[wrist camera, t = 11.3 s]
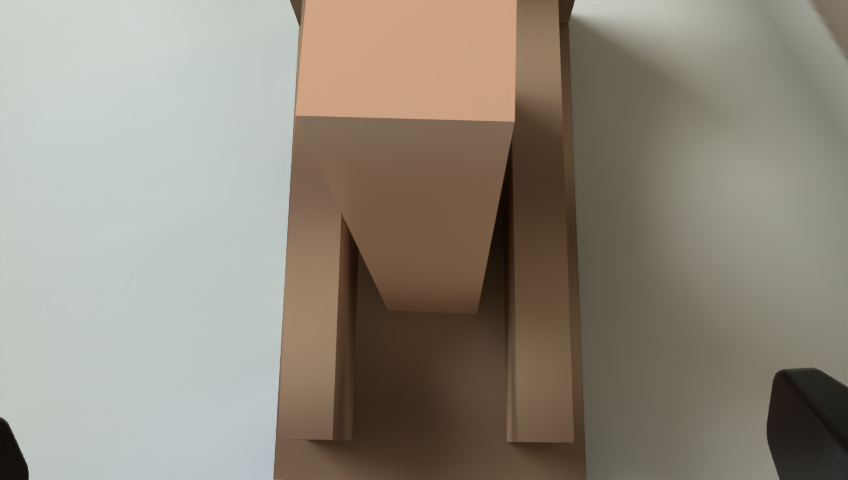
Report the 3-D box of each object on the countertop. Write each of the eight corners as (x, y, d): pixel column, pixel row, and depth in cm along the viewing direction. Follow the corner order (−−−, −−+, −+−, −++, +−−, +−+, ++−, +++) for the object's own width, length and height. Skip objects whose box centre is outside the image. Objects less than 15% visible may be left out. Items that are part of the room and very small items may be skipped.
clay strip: (477, 314, 21) (514, 121, 8) (387, 310, 21) (295, 115, 9) (481, 139, 22) (521, -253, 10) (397, 137, 22) (329, -254, 10)
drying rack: (580, 482, 21) (648, 502, 14) (281, 477, 21) (193, 495, 14) (562, 11, 24) (609, -173, 17) (306, 13, 25) (246, -167, 17)
